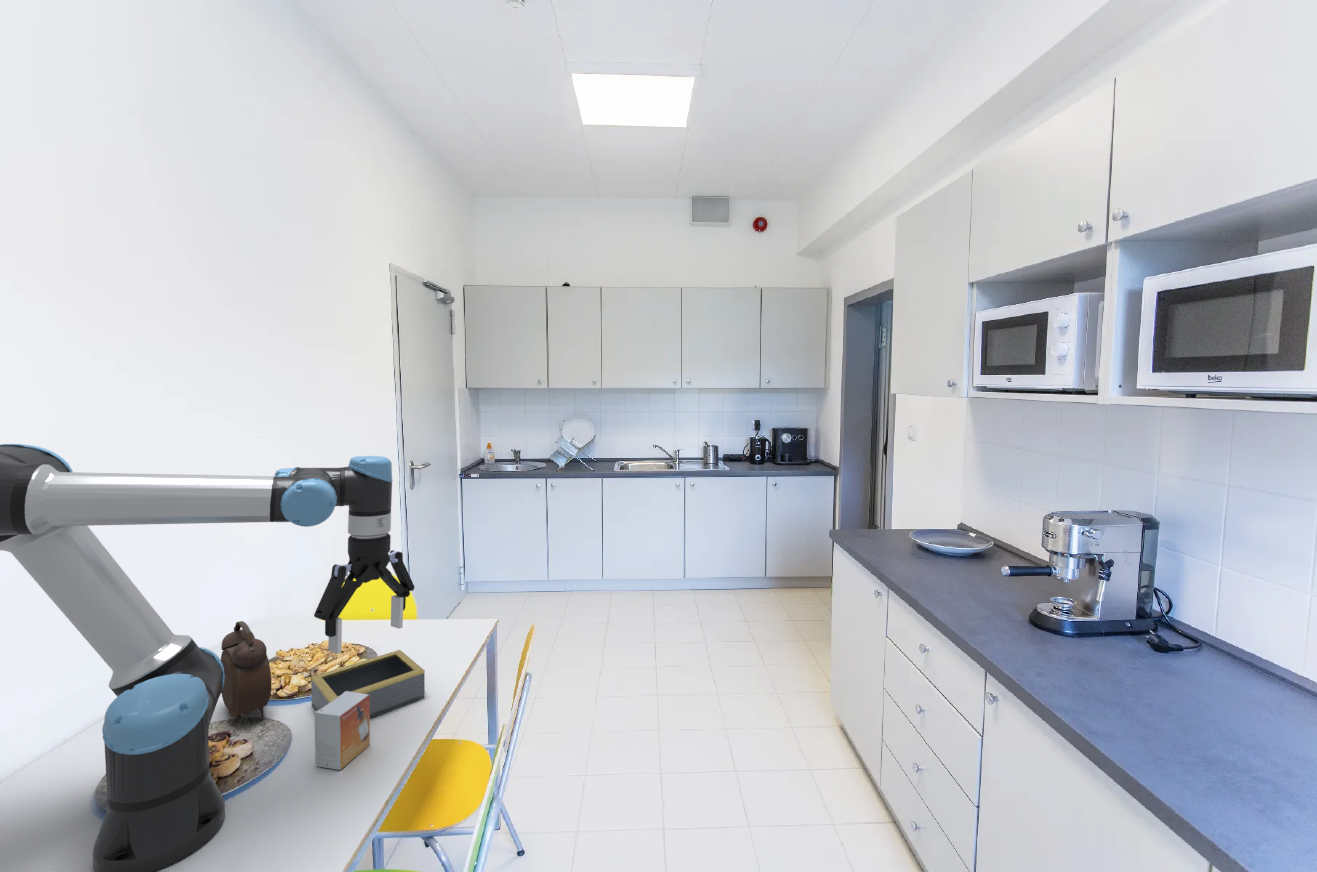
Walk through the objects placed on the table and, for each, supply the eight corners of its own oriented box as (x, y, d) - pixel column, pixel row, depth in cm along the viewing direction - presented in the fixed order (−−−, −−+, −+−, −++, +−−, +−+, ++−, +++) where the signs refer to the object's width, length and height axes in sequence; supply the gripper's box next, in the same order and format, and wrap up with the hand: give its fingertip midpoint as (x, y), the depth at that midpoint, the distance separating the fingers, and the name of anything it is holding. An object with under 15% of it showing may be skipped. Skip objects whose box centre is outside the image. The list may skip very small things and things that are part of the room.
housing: (331, 733, 112) (331, 702, 112) (311, 705, 122) (311, 676, 121) (424, 698, 126) (424, 670, 125) (400, 675, 135) (399, 649, 135)
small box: (340, 771, 101) (339, 716, 100) (314, 766, 102) (313, 712, 101) (371, 744, 109) (370, 693, 108) (346, 740, 110) (345, 689, 109)
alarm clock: (278, 719, 116) (276, 627, 115) (236, 735, 111) (233, 638, 109) (257, 694, 126) (255, 609, 124) (217, 707, 120) (214, 618, 119)
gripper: (319, 550, 96) (317, 668, 98) (433, 525, 119) (430, 621, 120) (293, 544, 100) (291, 658, 101) (409, 521, 122) (406, 614, 123)
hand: (367, 638), depth 110 cm, fingers open, 13 cm apart
